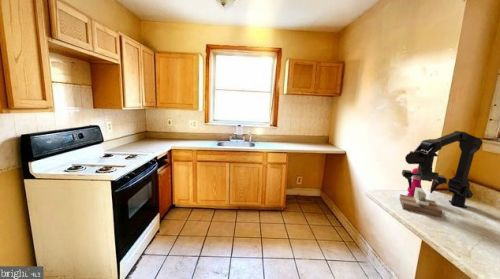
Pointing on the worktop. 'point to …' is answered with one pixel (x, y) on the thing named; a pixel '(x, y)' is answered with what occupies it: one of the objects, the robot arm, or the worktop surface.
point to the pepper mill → (414, 183)
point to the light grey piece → (420, 196)
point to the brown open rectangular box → (420, 206)
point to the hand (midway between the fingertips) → (420, 191)
